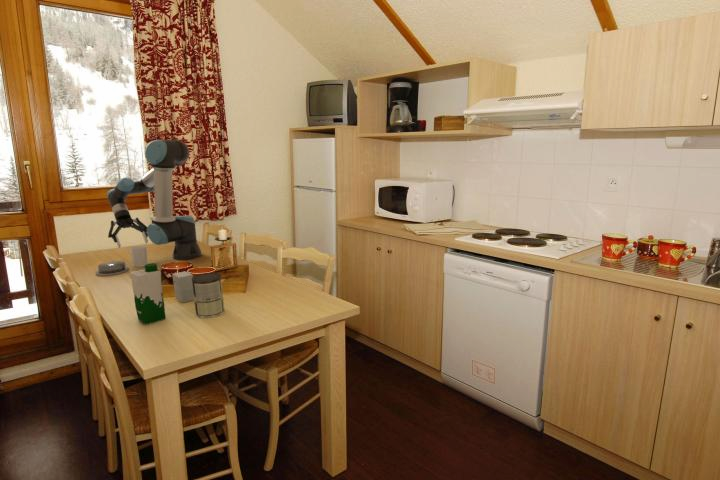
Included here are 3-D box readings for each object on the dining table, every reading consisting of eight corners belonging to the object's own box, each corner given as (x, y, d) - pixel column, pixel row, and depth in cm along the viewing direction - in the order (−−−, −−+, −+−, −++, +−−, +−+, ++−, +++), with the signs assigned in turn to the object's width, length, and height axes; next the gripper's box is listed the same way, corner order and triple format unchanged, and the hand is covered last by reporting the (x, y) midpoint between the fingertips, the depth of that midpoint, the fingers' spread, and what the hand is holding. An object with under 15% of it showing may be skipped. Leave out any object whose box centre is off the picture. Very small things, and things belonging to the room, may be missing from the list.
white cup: (151, 263, 243) (149, 245, 241) (143, 267, 235) (140, 248, 233) (137, 263, 244) (135, 245, 242) (129, 267, 236) (126, 248, 234)
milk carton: (169, 318, 164) (162, 265, 159) (143, 326, 157) (135, 271, 153) (159, 313, 170) (152, 261, 165) (134, 320, 164) (126, 266, 159)
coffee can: (190, 314, 167) (185, 277, 164) (214, 306, 175) (210, 271, 172) (205, 320, 161) (201, 282, 158) (230, 311, 169) (226, 275, 166)
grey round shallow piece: (133, 266, 237) (132, 259, 236) (121, 275, 222) (120, 267, 222) (104, 268, 236) (102, 261, 235) (89, 276, 221) (88, 268, 220)
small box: (196, 299, 183) (193, 274, 181) (182, 303, 180) (179, 277, 177) (188, 295, 189) (185, 270, 187) (175, 298, 186) (172, 273, 183)
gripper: (144, 215, 259) (156, 244, 252) (95, 221, 243) (107, 252, 236) (146, 206, 254) (158, 236, 247) (96, 212, 238) (108, 244, 231)
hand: (133, 244), depth 241 cm, fingers open, 13 cm apart
